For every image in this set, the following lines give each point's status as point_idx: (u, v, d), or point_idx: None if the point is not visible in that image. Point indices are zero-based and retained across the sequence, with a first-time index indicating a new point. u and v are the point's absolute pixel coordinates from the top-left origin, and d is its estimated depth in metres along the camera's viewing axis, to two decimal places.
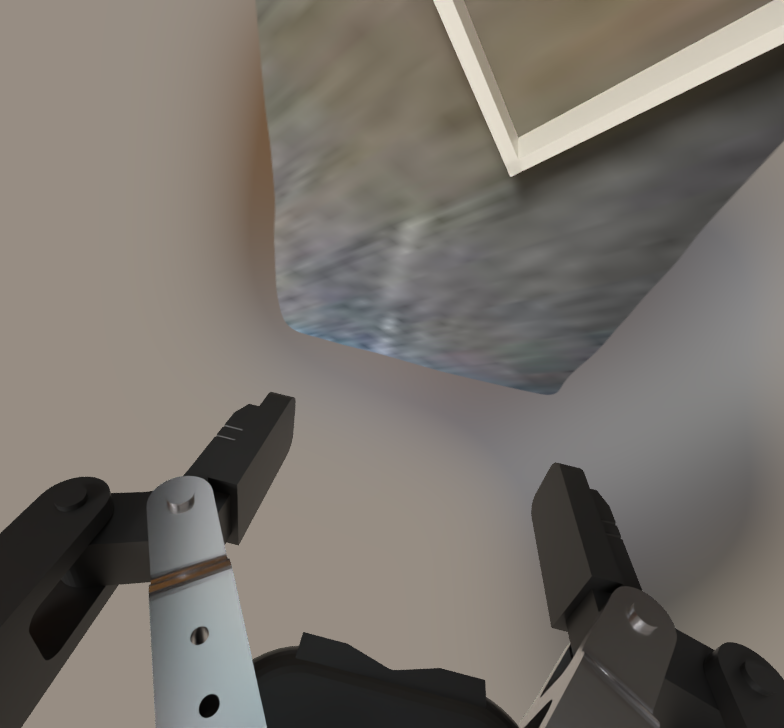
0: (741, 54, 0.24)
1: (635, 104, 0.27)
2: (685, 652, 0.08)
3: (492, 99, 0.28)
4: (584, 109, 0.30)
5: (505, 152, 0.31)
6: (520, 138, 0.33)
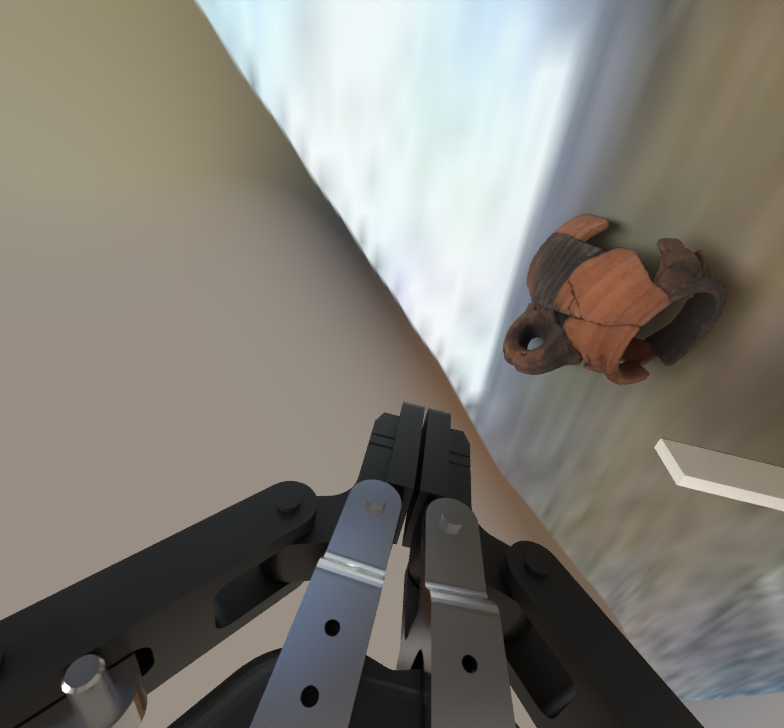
0: None
1: None
2: (490, 551, 0.09)
3: None
4: None
5: None
6: None
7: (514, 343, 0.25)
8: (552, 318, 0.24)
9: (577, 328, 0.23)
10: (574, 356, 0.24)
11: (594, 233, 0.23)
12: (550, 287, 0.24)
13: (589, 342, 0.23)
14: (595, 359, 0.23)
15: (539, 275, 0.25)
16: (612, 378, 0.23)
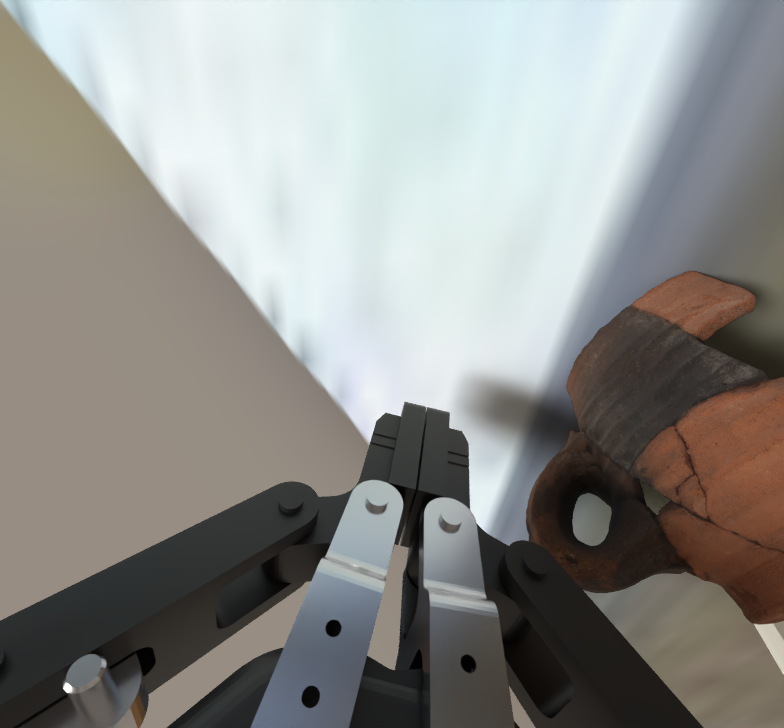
0: None
1: None
2: (489, 551, 0.09)
3: None
4: None
5: None
6: None
7: (551, 527, 0.13)
8: (630, 488, 0.12)
9: (697, 535, 0.10)
10: (676, 569, 0.12)
11: (725, 321, 0.11)
12: (628, 426, 0.12)
13: (720, 562, 0.11)
14: (724, 583, 0.11)
15: (596, 389, 0.13)
16: (760, 624, 0.11)
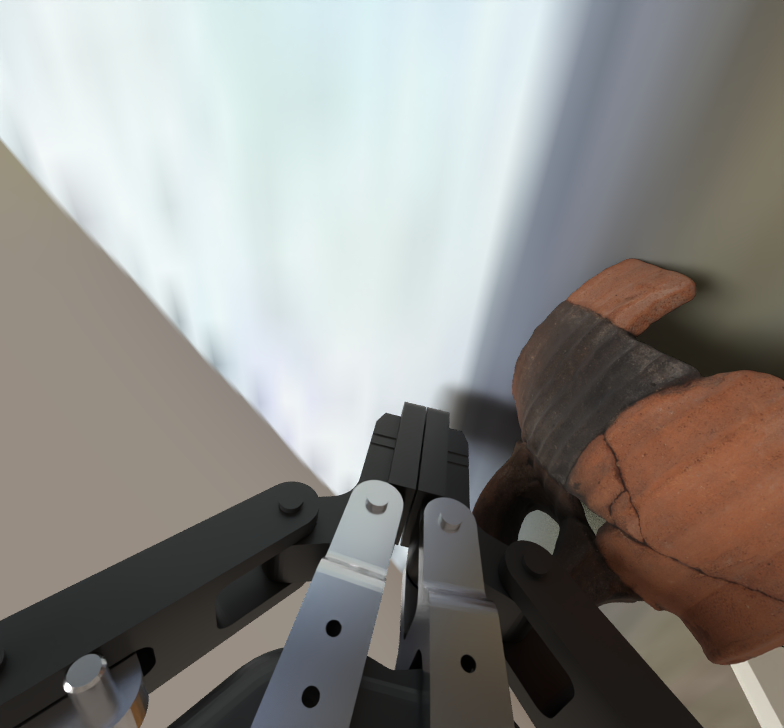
0: None
1: None
2: (488, 551, 0.09)
3: None
4: None
5: None
6: None
7: None
8: (568, 506, 0.10)
9: (635, 561, 0.09)
10: (625, 599, 0.10)
11: (661, 312, 0.10)
12: (561, 435, 0.10)
13: (666, 592, 0.09)
14: (678, 615, 0.10)
15: (534, 394, 0.12)
16: None
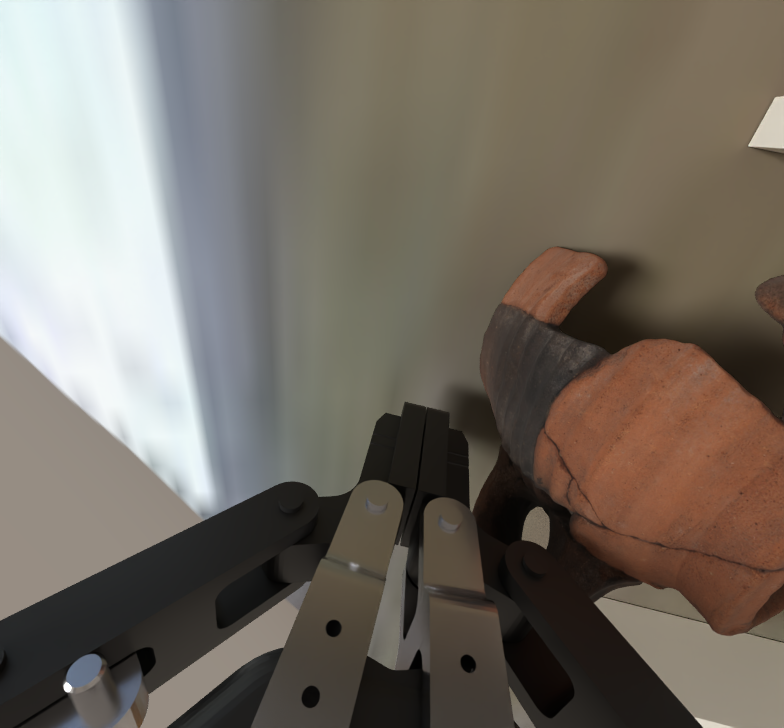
0: None
1: None
2: (488, 551, 0.09)
3: None
4: None
5: None
6: None
7: None
8: (545, 500, 0.11)
9: (605, 545, 0.09)
10: (623, 582, 0.10)
11: (576, 296, 0.10)
12: (518, 434, 0.11)
13: (648, 570, 0.09)
14: None
15: (495, 398, 0.12)
16: (741, 633, 0.09)
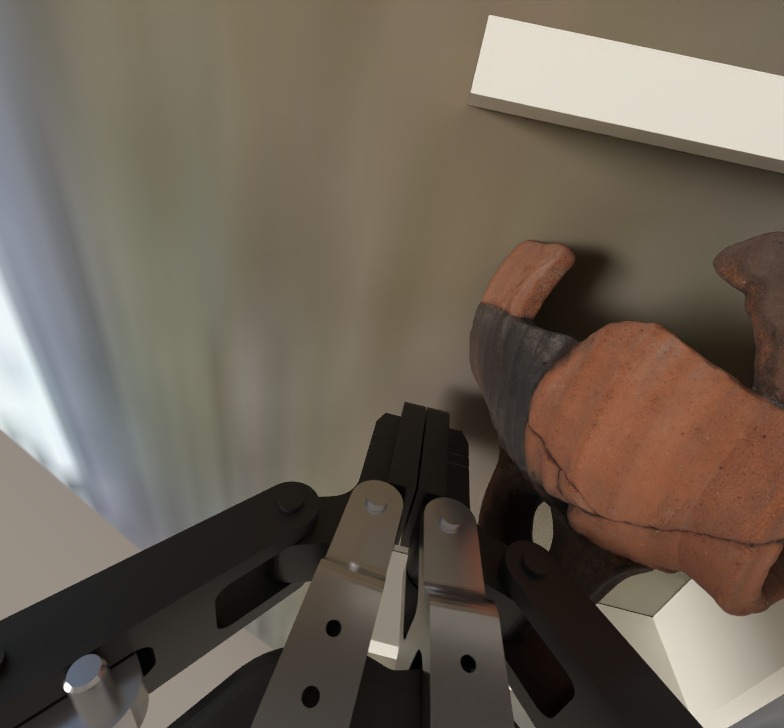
0: None
1: None
2: (488, 551, 0.09)
3: None
4: None
5: None
6: (657, 623, 0.19)
7: None
8: (544, 493, 0.11)
9: (603, 533, 0.09)
10: (632, 570, 0.10)
11: (547, 287, 0.10)
12: (509, 431, 0.11)
13: (650, 555, 0.09)
14: None
15: (487, 396, 0.12)
16: (759, 612, 0.09)
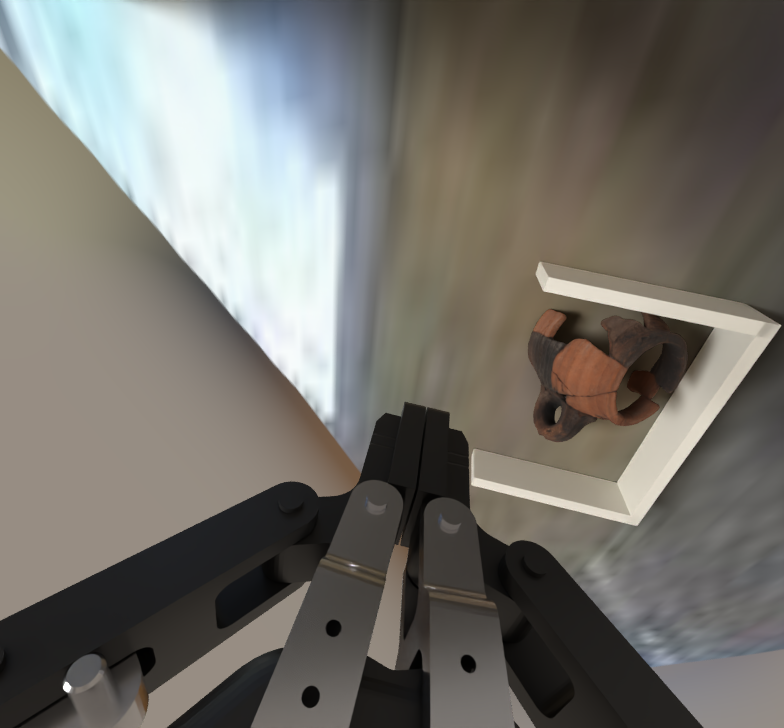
0: (722, 395, 0.29)
1: (680, 451, 0.32)
2: (488, 551, 0.09)
3: (577, 503, 0.36)
4: (646, 453, 0.36)
5: (616, 517, 0.36)
6: (618, 484, 0.39)
7: (540, 423, 0.32)
8: (558, 396, 0.31)
9: (576, 402, 0.29)
10: (587, 418, 0.30)
11: (557, 327, 0.31)
12: (545, 375, 0.31)
13: (590, 408, 0.29)
14: (603, 415, 0.30)
15: (536, 365, 0.33)
16: (624, 425, 0.29)
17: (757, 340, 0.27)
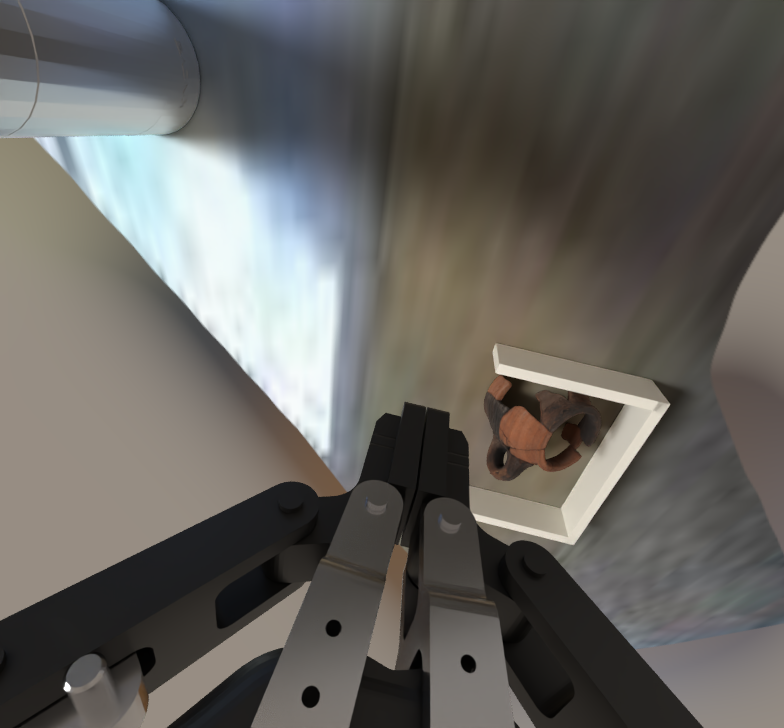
0: (631, 451, 0.38)
1: (603, 490, 0.41)
2: (489, 551, 0.09)
3: (526, 527, 0.45)
4: (581, 488, 0.44)
5: (557, 538, 0.45)
6: (562, 509, 0.48)
7: (491, 465, 0.40)
8: (504, 446, 0.39)
9: (516, 453, 0.38)
10: (526, 464, 0.39)
11: (504, 392, 0.39)
12: (495, 429, 0.40)
13: (527, 458, 0.38)
14: None
15: (489, 419, 0.41)
16: (553, 471, 0.38)
17: (653, 413, 0.35)
